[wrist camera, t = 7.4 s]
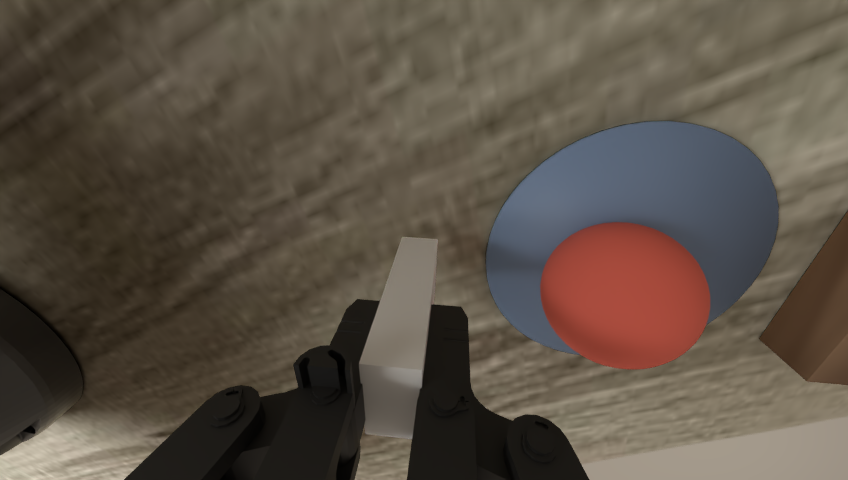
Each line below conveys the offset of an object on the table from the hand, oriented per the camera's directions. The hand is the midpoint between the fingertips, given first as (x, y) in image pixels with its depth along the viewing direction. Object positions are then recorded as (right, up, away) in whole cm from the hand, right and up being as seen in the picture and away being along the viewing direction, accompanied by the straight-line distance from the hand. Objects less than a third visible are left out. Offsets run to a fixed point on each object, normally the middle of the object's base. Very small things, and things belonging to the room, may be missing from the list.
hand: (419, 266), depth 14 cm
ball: (+8, -1, -1) cm, 8 cm away
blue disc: (+9, 0, +1) cm, 9 cm away
